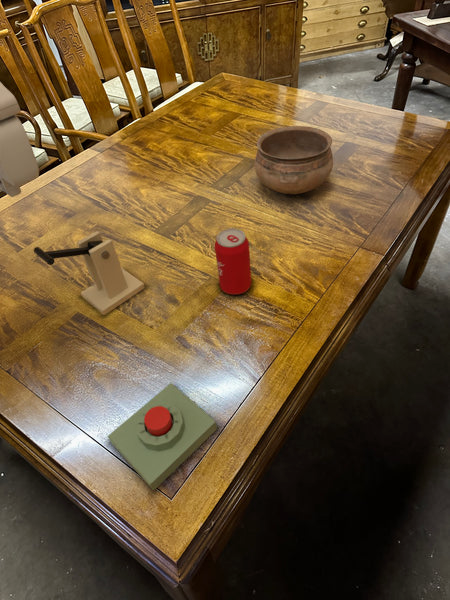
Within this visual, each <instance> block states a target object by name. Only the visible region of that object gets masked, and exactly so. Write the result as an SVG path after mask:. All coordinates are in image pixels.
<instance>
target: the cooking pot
mask: <svg viewBox="0 0 450 600" xmlns="http://www.w3.org/2000/svg"><path fill="white" fill-rule="evenodd" d="M332 144H333V138H332V137H331V135H330V134H329V133H328V132H327V131H324V130H322V129H319V128H317V127H312V126H307V125H288V126H282V127H277V128H274V129H271V130H269V131H266V132H265V133H262V135H260V136H259V138H258V139H257V141H256V146H257V151H256V155H255V158H254V170H255V173H256V177H258V179H259V181H260V182H261V184H263V185H264V186H265V187H267V188H268V189H270V190H272V191H274V192H277V193H280V194H285V195H290V196H296V195H300V194H304V193H307V192H311V191H313V190H315V189H317V188H318V187H320V186H322V185H323V184H324V182H326V181H327V179H328V178H329V177H330V175H331V173H332V171H333V167H334V156H333V150H332V147H331V146H332Z"/></svg>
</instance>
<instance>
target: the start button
mask: <svg viewBox="0 0 450 600" xmlns="http://www.w3.org/2000/svg"><path fill="white" fill-rule="evenodd" d="M144 422H145V425H146V427H147V430H148V431H149V433H151V434H152V435H156V436H160V435H163V434H165V433H167V432H168V431H169V430H170V428H171V426H172V418H171V415H170V413H169V411H168V410H167V409H166V408H165V407H162V406H157V407H153V408H151V409H150V410H149V411H148V412H147V413H146V415H145V418H144Z"/></svg>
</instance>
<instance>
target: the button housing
mask: <svg viewBox="0 0 450 600" xmlns="http://www.w3.org/2000/svg"><path fill="white" fill-rule="evenodd" d="M157 406H162V407H165V408H166V409H167V410H168V411H169V413H170V415H171V418H172V426H171V428H170V430H169V431H168V432H167V433H165V434H163V435H160V436H156V435H152V434H151V433H149V431H148V430H147V427H146V425H145V422H144V418H145V415H146V413H147V412H148V411H149V410H150V409H151V408H153V407H157ZM217 426H218V425H217V421H216V420H215V419H214V418H213V417H211V416H210V415H209V414H208V413H207V412H205V411H204V410H203V409H202V408H201V407H200V406H198V405H197V403H195V402H194V401H193V400H192V399H190V398H189V397H188V396H187V395H186V394H185V393H184V392H182V390H180V389H179V388H178V387H177V386H176V385H174V384H173V383H172V382H170V383H169V384H168V385H167V386H165V387H164V388H163V389H162V390H160V391H159V392H158V393H157V394H156V395H154V396H153V397H152V398H151V399H149V401H147V402H146V403H145V404H144V405H143V406H141V407H140V408H139V409H138V410H136V411H135V412H134V413H133V414H132V415H131V416H129V417H128V419H126V420H125V421H124V422H122V423H121V424H120V425H119V426H118V427H117V428H115V429H114V430H113V431H112V432H110V434H108V435H107V438H108V440H109V442H110V443H111V445H112V446H113V447H114V448H115V449H116V450H117V452H119V453H120V455H121V456H122V457H123V458H124V459H125V460H126V462H127V463H128V464H129V465H130V466H131V467H132V468H133V470H134V471H135V472H136V473H137V474H138V475H139V476H140V477H141V479H142V480H144V482H145V483H146V484H147V485H148V486H149V487H150V488H151V490H152V491H154V492H155V490H156V489H158V487H159V486H160V485H161V484H163V483H164V482H165V481H166V479H168V478H169V477H170V476H171V475H172V474H173V473H174V472H175V471H176V470H177V469H178V468H179V467H180V466H181V465H182V464H183V463H184V462H186V460H187V459H188V458H189V457H190V456H191V455H192V454H193V453H195V451H197V449H198V448H199V447H201V446H202V444H203V443H205V442H206V440H208V439H209V437H211V436H212V434H213V435H214V433H215V432H216V431H217V430H218V427H217Z"/></svg>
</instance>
